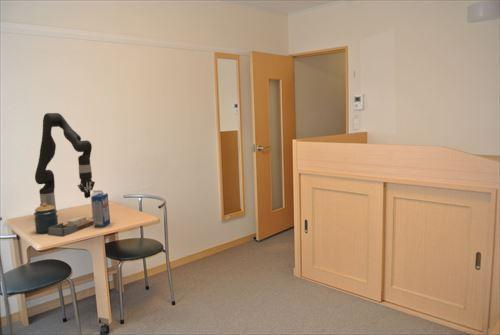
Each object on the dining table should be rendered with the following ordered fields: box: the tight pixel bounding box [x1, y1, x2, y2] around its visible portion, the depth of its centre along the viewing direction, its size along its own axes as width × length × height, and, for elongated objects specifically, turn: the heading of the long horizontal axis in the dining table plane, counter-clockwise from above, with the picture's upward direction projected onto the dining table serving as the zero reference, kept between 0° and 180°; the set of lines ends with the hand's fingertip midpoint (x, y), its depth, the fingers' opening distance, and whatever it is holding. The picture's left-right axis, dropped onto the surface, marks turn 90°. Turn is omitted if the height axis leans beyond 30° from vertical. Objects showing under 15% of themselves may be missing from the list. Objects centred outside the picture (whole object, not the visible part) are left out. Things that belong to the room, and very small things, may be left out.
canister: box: [33, 203, 59, 234], centre depth 247 cm, size 13×13×18 cm
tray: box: [47, 222, 78, 237], centre depth 242 cm, size 12×11×4 cm
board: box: [63, 219, 94, 232], centre depth 254 cm, size 12×14×2 cm
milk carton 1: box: [90, 189, 104, 219], centre depth 275 cm, size 7×7×19 cm
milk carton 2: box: [91, 192, 111, 229], centre depth 254 cm, size 10×6×20 cm, turn 178°
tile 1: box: [66, 218, 80, 226], centre depth 250 cm, size 5×5×3 cm
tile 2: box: [73, 216, 87, 224], centre depth 255 cm, size 5×5×3 cm
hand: (87, 197), depth 261 cm, fingers closed
